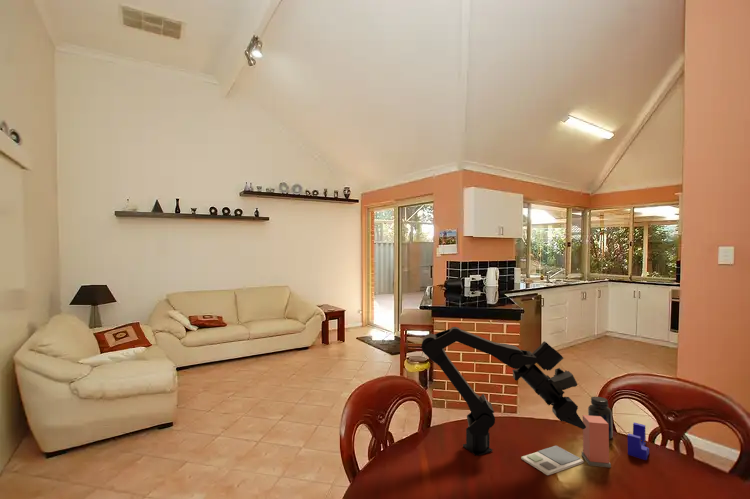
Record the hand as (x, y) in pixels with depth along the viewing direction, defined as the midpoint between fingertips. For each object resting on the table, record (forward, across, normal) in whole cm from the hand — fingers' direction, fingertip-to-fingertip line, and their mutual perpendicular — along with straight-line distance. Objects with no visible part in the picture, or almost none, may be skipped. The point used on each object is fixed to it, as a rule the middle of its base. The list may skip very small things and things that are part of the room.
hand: (578, 420), depth 106 cm
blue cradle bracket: (+23, +10, -6) cm, 26 cm away
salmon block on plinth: (+11, 0, +5) cm, 12 cm away
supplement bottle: (+17, +18, -1) cm, 24 cm away
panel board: (+2, -2, +14) cm, 14 cm away
